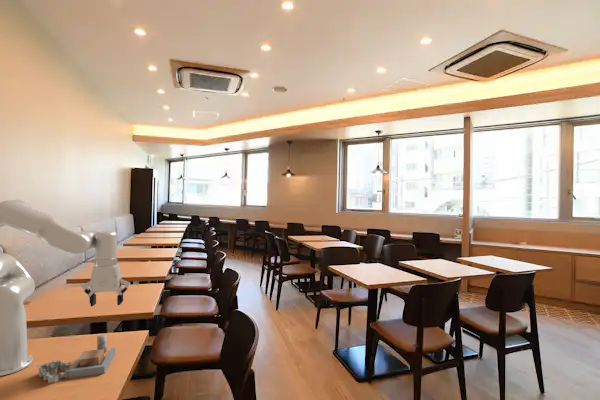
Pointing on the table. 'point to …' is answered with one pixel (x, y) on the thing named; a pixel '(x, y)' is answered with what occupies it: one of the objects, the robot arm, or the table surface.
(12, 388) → the table surface
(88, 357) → the tan block with knob
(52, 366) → the grey rough openwork block
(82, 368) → the lane rack
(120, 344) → the table surface
